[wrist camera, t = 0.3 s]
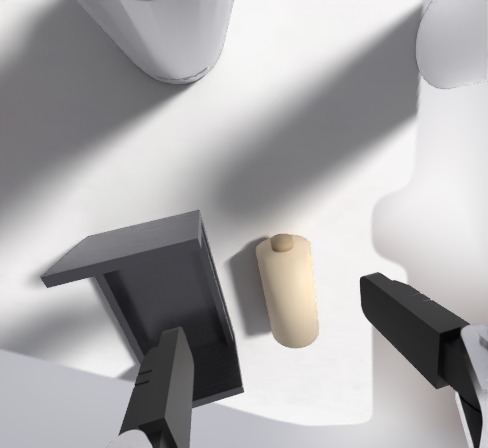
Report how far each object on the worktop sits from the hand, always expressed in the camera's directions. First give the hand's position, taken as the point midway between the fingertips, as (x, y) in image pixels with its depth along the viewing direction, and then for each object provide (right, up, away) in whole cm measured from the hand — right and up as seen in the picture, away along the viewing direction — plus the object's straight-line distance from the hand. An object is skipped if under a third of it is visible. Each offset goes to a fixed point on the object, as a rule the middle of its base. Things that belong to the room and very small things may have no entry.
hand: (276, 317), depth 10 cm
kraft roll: (+4, -3, +21) cm, 21 cm away
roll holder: (-10, -4, +19) cm, 22 cm away
